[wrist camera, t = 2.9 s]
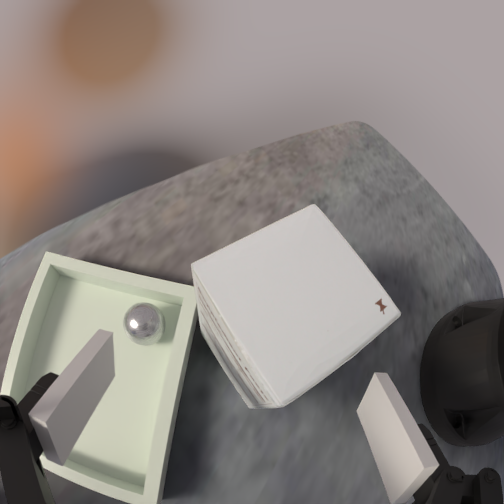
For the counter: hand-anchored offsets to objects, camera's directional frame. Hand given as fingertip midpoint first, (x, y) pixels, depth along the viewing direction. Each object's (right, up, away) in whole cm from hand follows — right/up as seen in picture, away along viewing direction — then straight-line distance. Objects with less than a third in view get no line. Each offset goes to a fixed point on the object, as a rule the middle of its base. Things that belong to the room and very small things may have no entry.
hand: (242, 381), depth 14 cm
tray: (-12, -4, +7) cm, 14 cm away
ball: (-8, 0, +9) cm, 12 cm away
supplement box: (+1, -2, +10) cm, 10 cm away
